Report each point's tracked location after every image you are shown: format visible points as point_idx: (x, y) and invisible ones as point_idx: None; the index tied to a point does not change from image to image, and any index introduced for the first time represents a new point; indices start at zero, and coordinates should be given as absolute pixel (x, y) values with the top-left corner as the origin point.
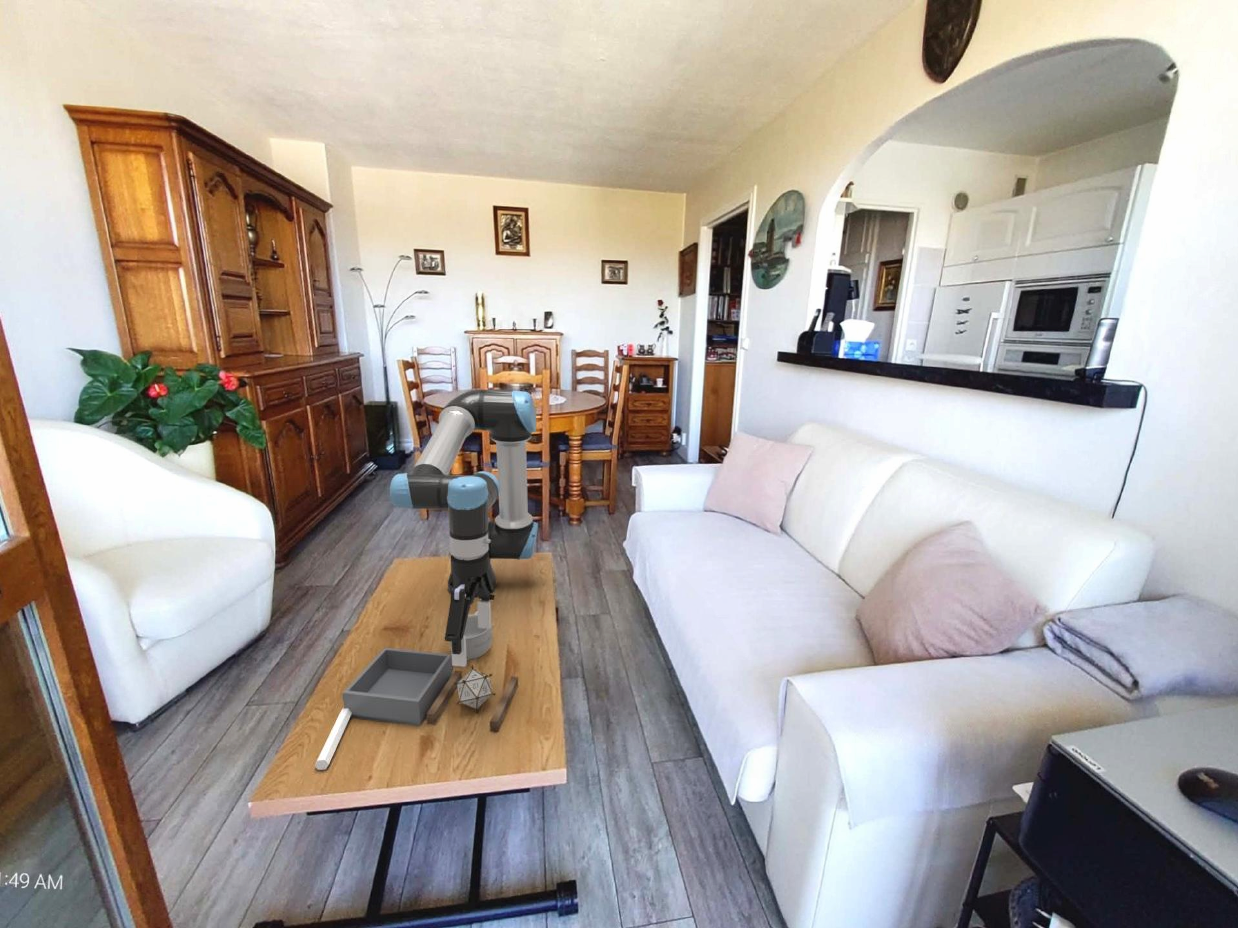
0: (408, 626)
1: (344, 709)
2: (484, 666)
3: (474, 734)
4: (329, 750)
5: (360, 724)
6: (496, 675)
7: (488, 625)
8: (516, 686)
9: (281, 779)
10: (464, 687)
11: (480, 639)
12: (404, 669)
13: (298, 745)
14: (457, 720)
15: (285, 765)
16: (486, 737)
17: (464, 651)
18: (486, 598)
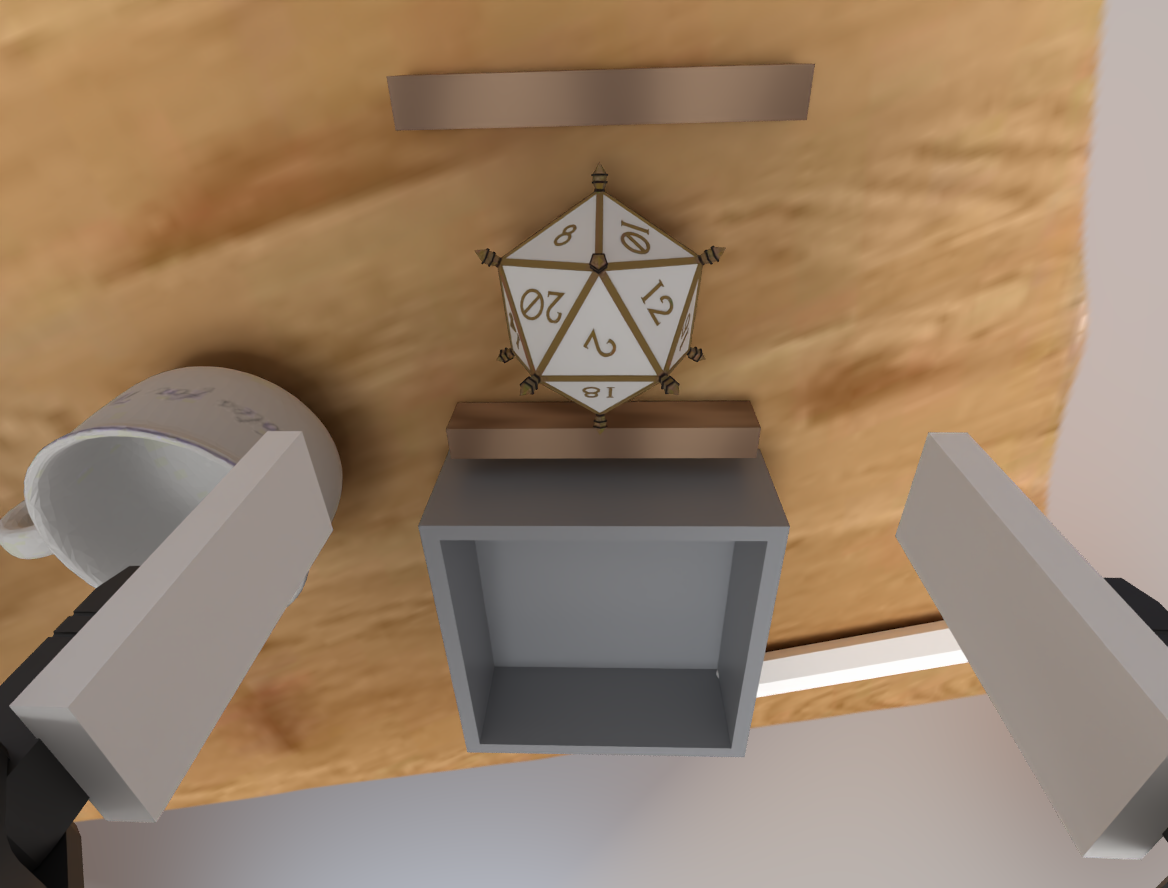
0: (242, 699)
1: None
2: (329, 338)
3: (809, 195)
4: (924, 653)
5: None
6: (369, 248)
7: (288, 462)
8: (435, 74)
9: (965, 685)
10: (672, 361)
11: (235, 438)
12: (486, 623)
13: (842, 708)
14: (719, 316)
15: (915, 699)
16: (832, 117)
17: (1075, 551)
18: (7, 792)
